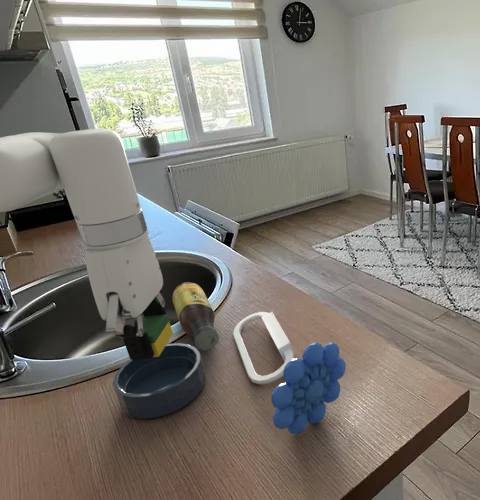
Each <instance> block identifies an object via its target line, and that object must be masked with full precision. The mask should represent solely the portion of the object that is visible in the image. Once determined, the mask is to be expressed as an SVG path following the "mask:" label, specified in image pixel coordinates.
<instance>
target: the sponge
mask: <svg viewBox="0 0 480 500" xmlns="http://www.w3.org/2000/svg"><path fill="white" fill-rule="evenodd" d="M169 319H170V318H169V316H168V314H167V315H156V316H145V317H144V316H142V323H143V331H144V332H147V333H148V336H149V339H150V342H151V345H152V348H153V351H154V356H153V357H159V356H160V354H161V352H162V351H163V349H164V348H165V346H166V344H169V343H168V342H169V341H170V340H171V338H172V336H173V329H172V326H171V323H170V320H169ZM132 326H133V327H134V325H132Z"/></svg>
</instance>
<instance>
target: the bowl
mask: <svg viewBox="0 0 480 500" xmlns="http://www.w3.org/2000/svg"><path fill="white" fill-rule="evenodd" d="M206 380H207V377H206V370H205V367H204V362H203V359H202V355H201V352H200V351H199V349H198V348H197V347H196V346H193V345H192V344H191V345H190V344H188V343H181V342H177V343H167V344H166V346H165V348H164V349H163V351H162V352H161V354H160V356H159V357H153V358H150V359H139V360H131V359H130V358H129V360H127V361H126V362H125V363H124V364H122V365H121V366H120V368H119V369H118V370H117V372H116V373H115V374H114V377H113V380H112V387H113V389H114V391H115V394H116V397H117V399H118V401H119V404H120V408H121V409H122V412H123V413H124V414H126V415H128V416H129V417H132V418H136V419H155V418H156V419H157V418H161V417H165V416H167V415H170V414H173V413H175V412H177V411H179V410H180V409H182V408H184V407H185V406H187V405H188V404H189V403H191V402H192V401H193V400H194V399H195V398H196V397H197V395H198V394H200V392H201V391H202V389H203V388H204V386H205V383H206Z"/></svg>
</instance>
